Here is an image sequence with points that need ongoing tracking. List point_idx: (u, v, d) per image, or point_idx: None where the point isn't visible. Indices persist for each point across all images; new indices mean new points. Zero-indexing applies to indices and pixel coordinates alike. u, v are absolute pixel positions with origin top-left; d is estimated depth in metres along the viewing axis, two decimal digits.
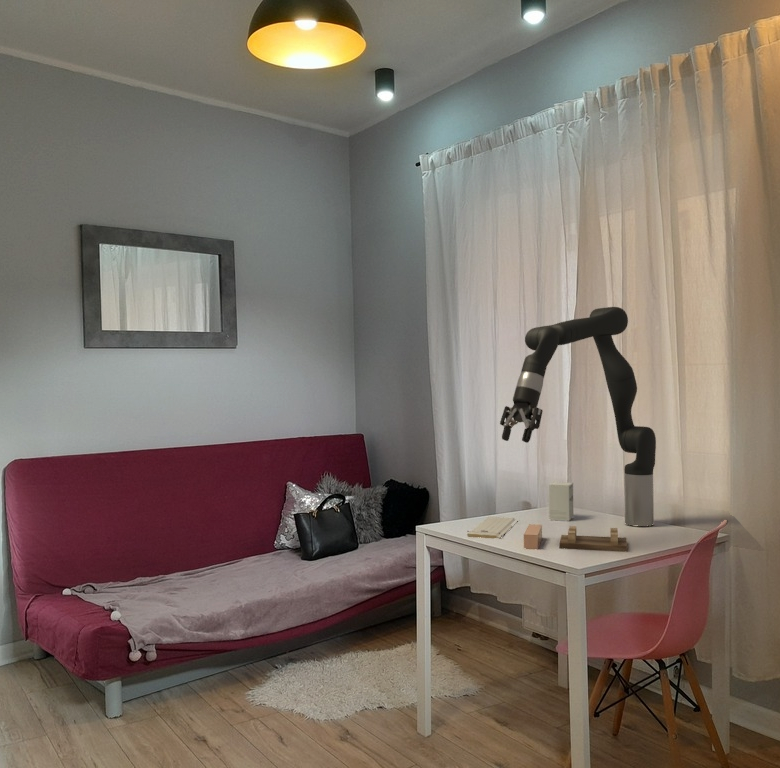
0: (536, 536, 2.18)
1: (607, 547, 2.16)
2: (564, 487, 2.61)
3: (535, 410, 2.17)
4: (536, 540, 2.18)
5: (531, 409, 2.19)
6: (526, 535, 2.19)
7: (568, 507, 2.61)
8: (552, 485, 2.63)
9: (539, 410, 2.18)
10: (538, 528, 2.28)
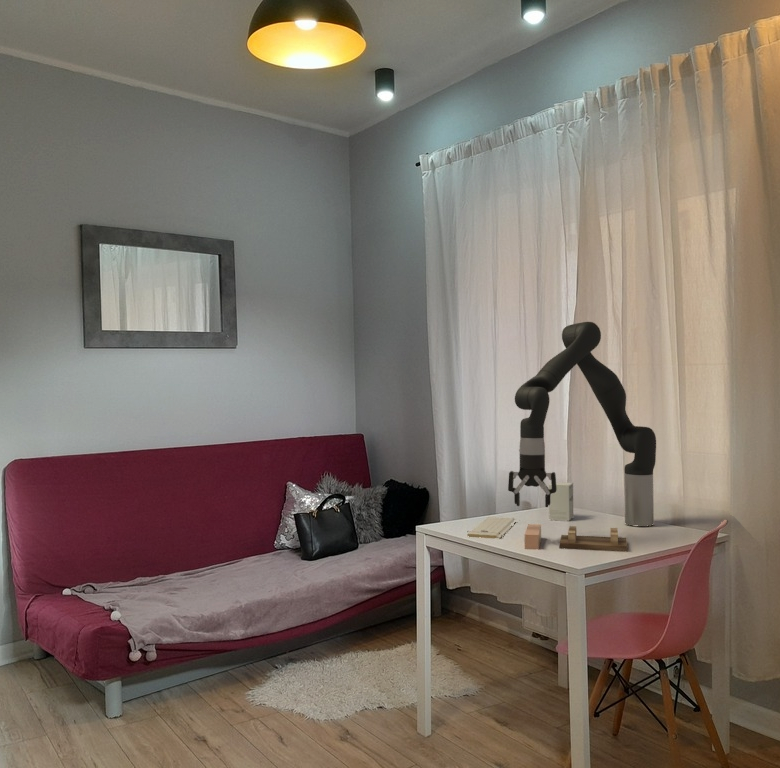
0: (537, 536, 2.18)
1: (607, 547, 2.16)
2: (564, 487, 2.61)
3: (553, 476, 2.23)
4: (537, 540, 2.18)
5: (546, 474, 2.25)
6: (527, 535, 2.19)
7: (568, 507, 2.61)
8: None
9: (555, 474, 2.24)
10: (538, 528, 2.28)
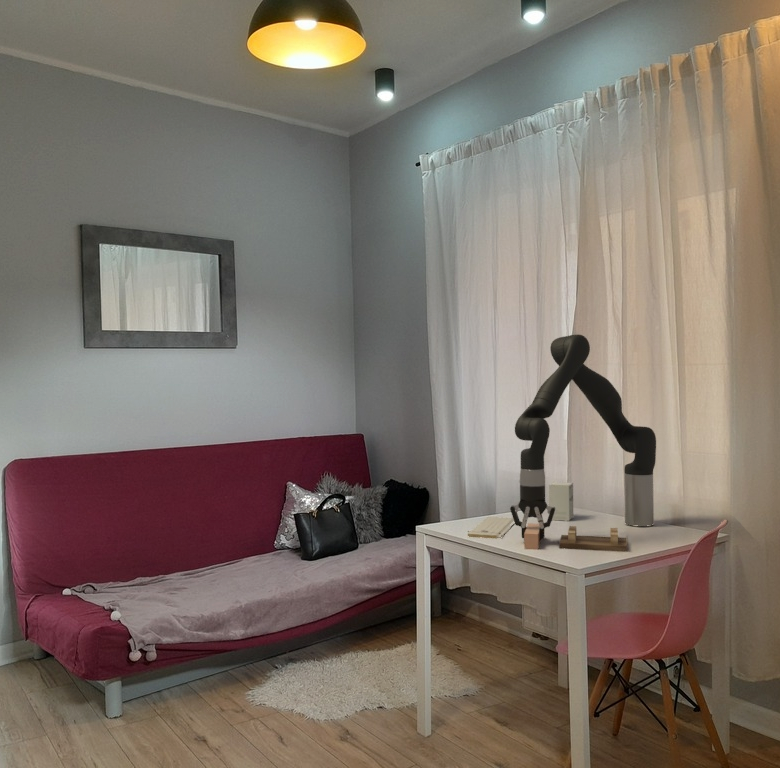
0: (537, 535, 2.18)
1: (607, 547, 2.16)
2: (564, 487, 2.61)
3: (552, 511, 2.24)
4: (537, 539, 2.18)
5: (546, 507, 2.25)
6: (526, 534, 2.19)
7: (568, 507, 2.61)
8: (552, 485, 2.63)
9: (554, 510, 2.25)
10: (538, 527, 2.28)
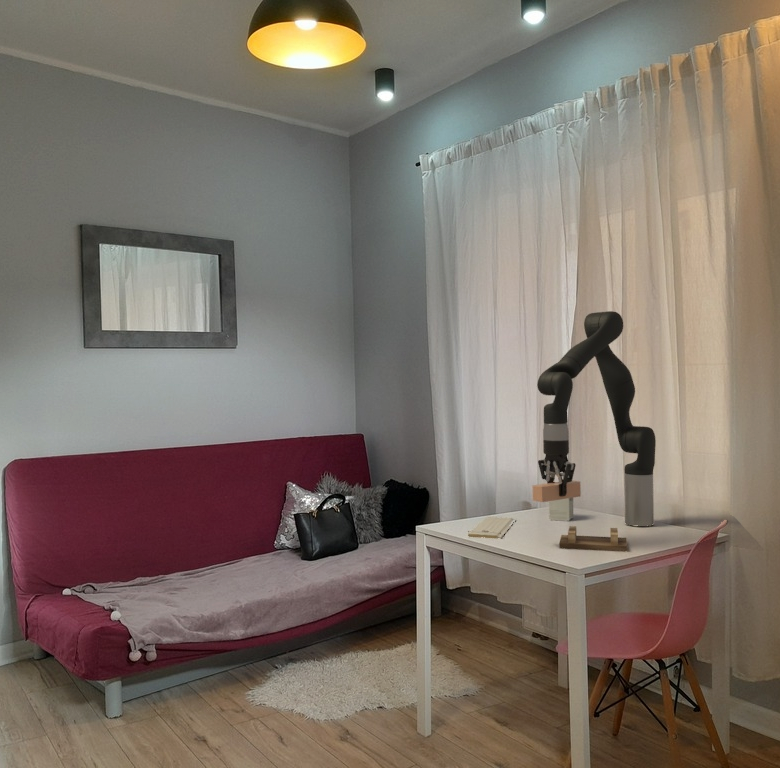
0: (541, 488, 2.20)
1: (607, 547, 2.16)
2: None
3: (568, 467, 2.20)
4: (541, 492, 2.20)
5: (564, 462, 2.22)
6: (534, 486, 2.22)
7: (568, 507, 2.61)
8: None
9: (572, 466, 2.20)
10: None
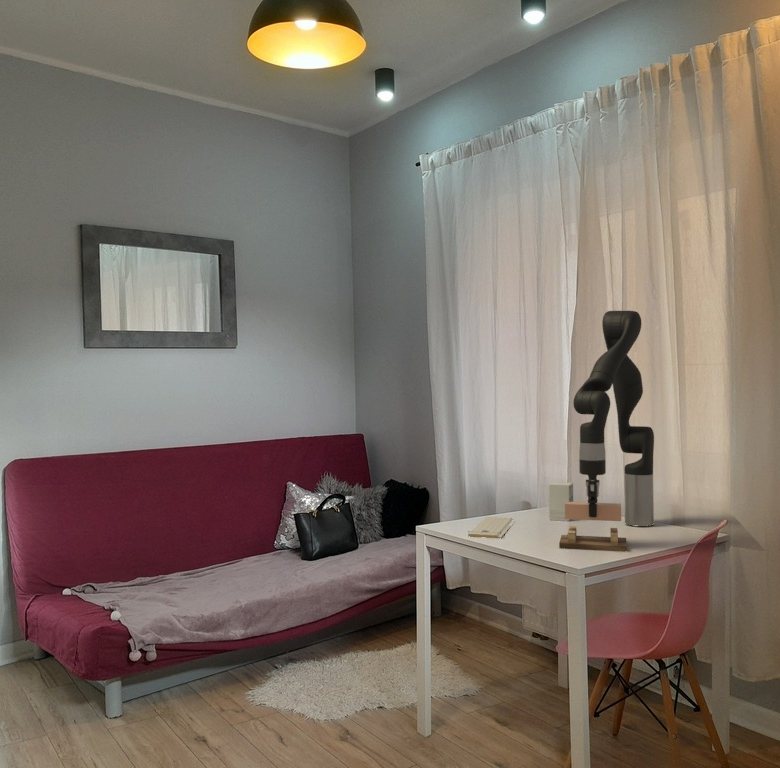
0: None
1: (607, 547, 2.16)
2: (564, 487, 2.61)
3: (588, 488, 2.17)
4: None
5: (589, 483, 2.19)
6: (565, 503, 2.26)
7: None
8: (552, 485, 2.63)
9: (592, 487, 2.16)
10: (599, 504, 2.21)
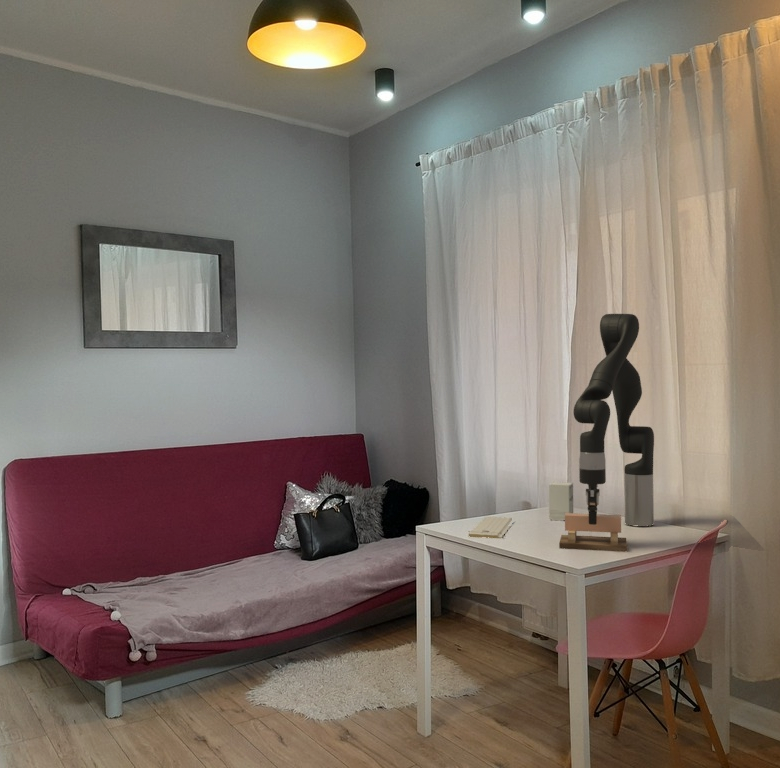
0: None
1: (607, 547, 2.16)
2: (564, 487, 2.61)
3: (587, 493, 2.17)
4: None
5: None
6: (565, 514, 2.26)
7: (568, 507, 2.61)
8: (552, 485, 2.63)
9: (591, 492, 2.16)
10: (599, 516, 2.21)
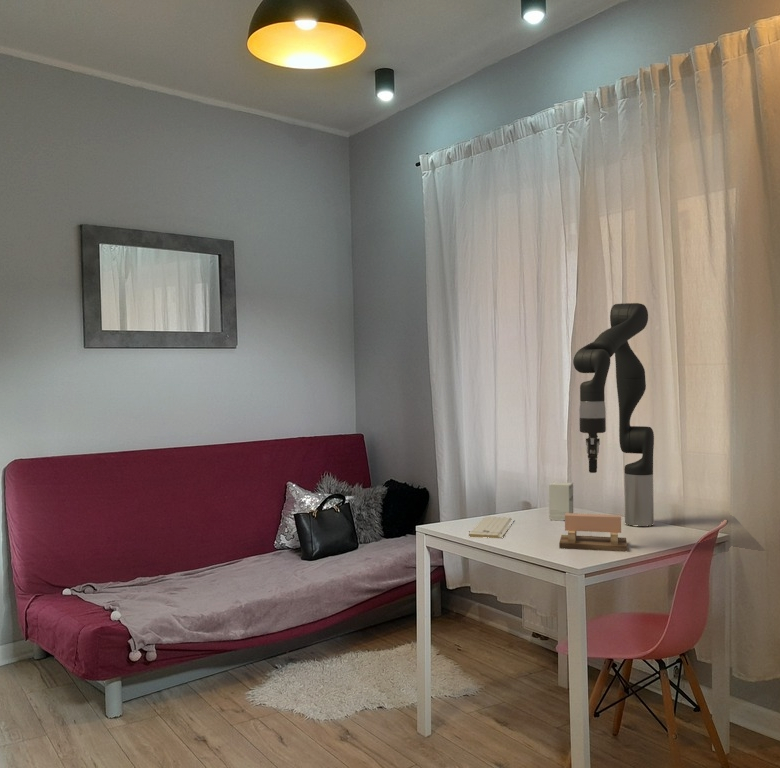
0: None
1: (607, 547, 2.16)
2: (564, 487, 2.61)
3: (588, 441, 2.17)
4: None
5: None
6: (565, 514, 2.26)
7: (568, 507, 2.61)
8: (552, 485, 2.63)
9: (592, 440, 2.16)
10: (599, 516, 2.21)
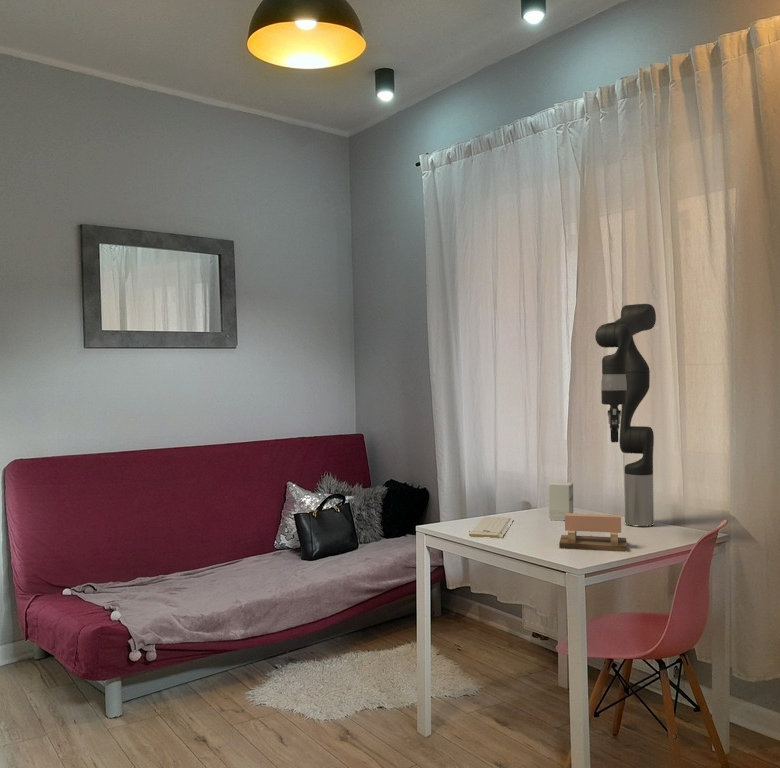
0: None
1: (607, 547, 2.16)
2: (564, 487, 2.61)
3: (610, 412, 2.26)
4: None
5: None
6: (565, 514, 2.26)
7: (568, 507, 2.61)
8: (552, 485, 2.63)
9: (614, 410, 2.26)
10: (599, 516, 2.21)
